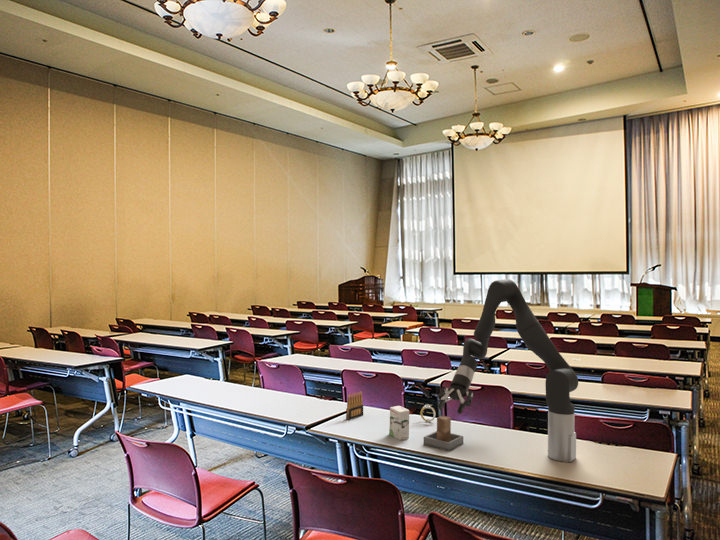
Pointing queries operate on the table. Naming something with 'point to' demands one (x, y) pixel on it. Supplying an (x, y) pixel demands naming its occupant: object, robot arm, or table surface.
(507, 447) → the table surface
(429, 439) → the desk tray
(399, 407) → the ink box
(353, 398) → the ammunition clip
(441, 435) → the walnut block
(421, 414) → the ring
